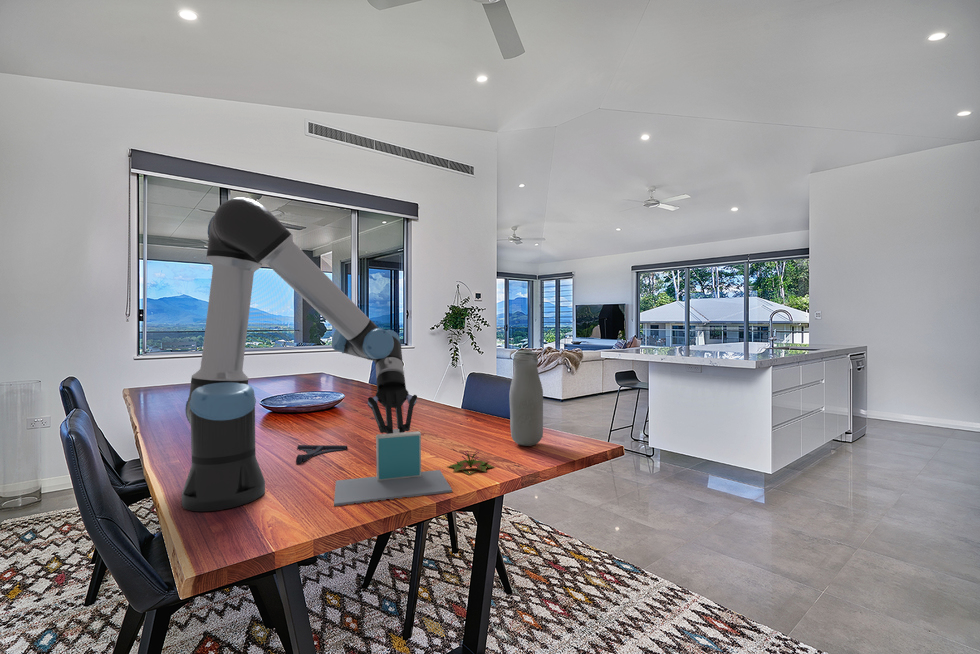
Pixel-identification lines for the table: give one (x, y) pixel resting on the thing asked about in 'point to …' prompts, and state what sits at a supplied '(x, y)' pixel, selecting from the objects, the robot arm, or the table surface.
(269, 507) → the table surface
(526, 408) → the grey bottle
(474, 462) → the lily flower
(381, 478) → the tile
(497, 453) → the table surface
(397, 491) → the mat
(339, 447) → the bracket
